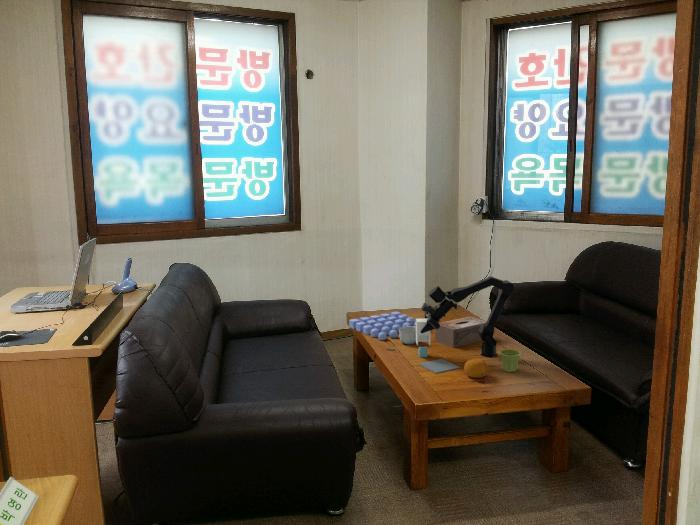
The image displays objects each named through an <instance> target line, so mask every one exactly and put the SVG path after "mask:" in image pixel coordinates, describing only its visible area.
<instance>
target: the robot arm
mask: <svg viewBox="0 0 700 525" xmlns="http://www.w3.org/2000/svg"><path fill="white" fill-rule="evenodd" d="M489 287H495V288H497V289H498V293H497V294H498V295H497V298H496V299H495V302H494V305H493V306H492V309H491V311H490V313H489V315H488V317H487V320H486V321H487V322H486V323H485V324H482V323H481V326H480V328H479V329H478V331H479V336H480V338H481V339H482V340H483V341H482V343H481V345H480V346H481V350H480V351H481V353H480V356H483V357H488V358H494V357H497V356H498V355H499V353H497V344H498V340H497V339H495V337H494V334H495V326H496V324H497V323H498V320H499V317H500V315H501V313H502V311H503V308H504V307H505V304H506V302H507V301H508V299H509V298H510V297H511V296H512V294H513V293H514V292H515V289H516V288H515V285H514V284H513V283H512V282H511V281H509V280H507V279H505V280H502V279H500V278H496V277H494V276H487V277H486V278H484V279H481V280H479V281H477V282H474V283H472V284H470V285H469V284H468V285H467V286H461V287H457V288H453V289H451V290H449V291H448V290H447V291H444V290H442V289H441V287H440V285H437V286H436V287H433V288H432V289H431V290H430V291H429V292H428V294H427V295H428V296H429V297H430V299H432V300H433V302H435V303H436V304H437V305H435V306H432V305H431V304H427V303H425V302H424V303H422V305H421V311H423V312H424V318H429V319H428V320H427V323H426V325H425V326H424V327H423V329H422V330H421V333H425V332H427V331H430V332H431V331H434V330H435V329H437V330H438V329H439V328H440V324H439V323H441V322H440V321H441V319H443V318H444V317H447V315H446V314H448V313H449V312H450V311H451V309H453V308H454V309H455V310H458V303H460V302H462V301H464V300H465V299H467V298H468V297H469V296H470V295H472V294H475V293H477V292H479V291H482V290H484V289H487V288H489Z"/></svg>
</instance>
